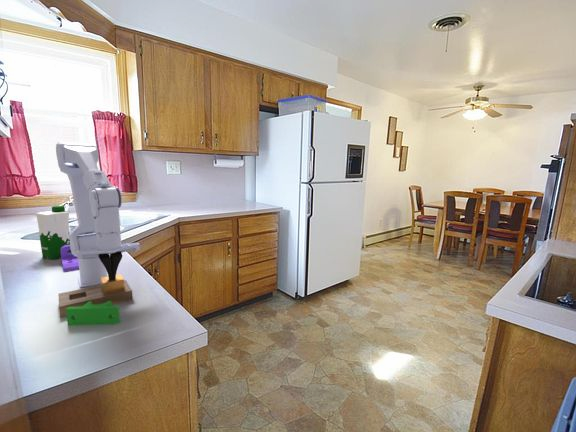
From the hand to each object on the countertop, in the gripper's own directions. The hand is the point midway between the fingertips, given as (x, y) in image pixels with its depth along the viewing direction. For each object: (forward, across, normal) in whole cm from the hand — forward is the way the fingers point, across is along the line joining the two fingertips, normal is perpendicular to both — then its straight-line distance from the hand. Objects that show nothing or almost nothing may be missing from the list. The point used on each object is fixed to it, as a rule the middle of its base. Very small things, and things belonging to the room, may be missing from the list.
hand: (112, 278), depth 80 cm
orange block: (+6, 0, 0) cm, 6 cm away
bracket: (+6, -7, +39) cm, 40 cm away
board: (+6, -4, 0) cm, 7 cm away
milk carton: (+6, -12, +55) cm, 57 cm away
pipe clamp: (+6, -5, -11) cm, 14 cm away
